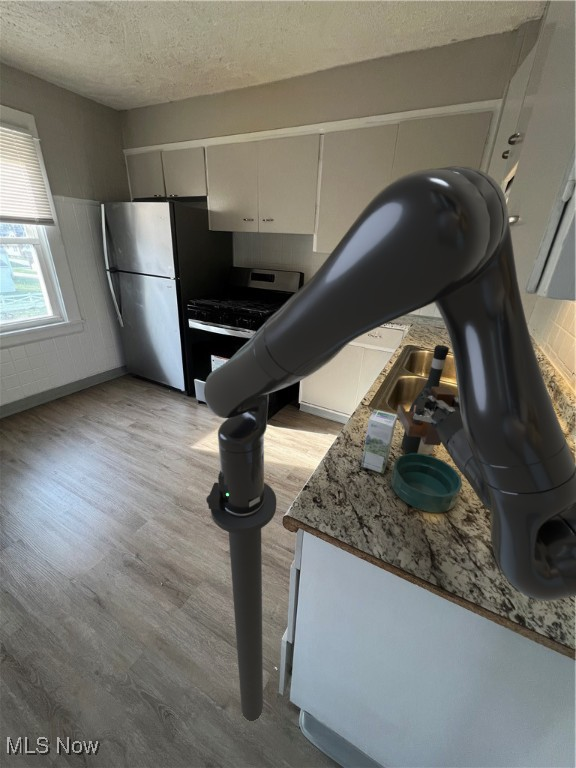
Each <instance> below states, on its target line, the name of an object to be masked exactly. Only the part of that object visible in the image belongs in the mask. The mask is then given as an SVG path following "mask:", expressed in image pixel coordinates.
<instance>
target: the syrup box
mask: <svg viewBox="0 0 576 768" xmlns="http://www.w3.org/2000/svg"><path fill="white" fill-rule="evenodd" d="M397 420H398V415H397V414H394V413H391V412H387V411H383V410H379V409H373V411H372V412H371V414H370V416H369V418H368V423H367V429H366V436H365V442H364V448H363V454H362V460H361V466H360V467H362V468H364V469H367V470H370V471H372V472H377V473H379V474H382V475H384V473H385V470H386V468H387V464H388V463H389V457H390V452H391V446H392V443H393V437H394V434H395V430H396V429H395V428H396V424H397Z"/></svg>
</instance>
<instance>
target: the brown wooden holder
mask: <svg viewBox="0 0 576 768" xmlns="http://www.w3.org/2000/svg"><path fill="white" fill-rule="evenodd" d="M431 392H432V393H433V394H434V396H435V398H437V399H438V400H442V401H444V402H445V403H446V404H447V405H448V406H449V407H451V406H452V402H453V399H454V395H455V393H454V392H453V391H452V390H451V389H450V387H444V386H439V387H432V389H431ZM426 411H427V410H426ZM427 412H428V411H427ZM428 414H429V415H430V413H429V412H428ZM396 415H397V418H398V419H399V422H400V424H401V425H402V427H403V429H404V431H405V432H406V434H407V436H412V437H421V439H422V441H423V443H424V444H425V445H435V446H441V444H442V442H441V441H440V438H439V435H438V432H437V430H436V429H435V428H433V427H432V426H431V425H430V423H429V422H425V421H423V425H419V424H415V423H413V418H412V415H413V412H411V411H409V410H406V409H405V407H404V405H403V404H398V406H397V412H396Z"/></svg>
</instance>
